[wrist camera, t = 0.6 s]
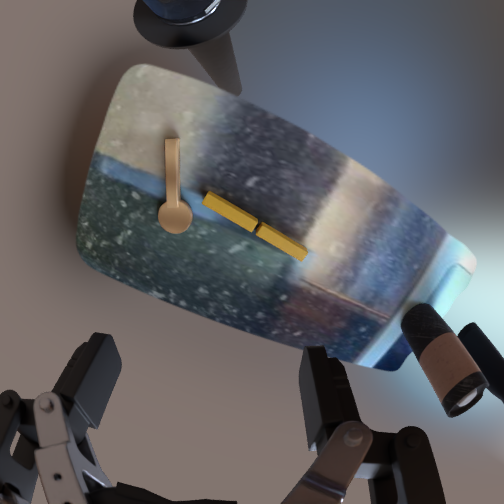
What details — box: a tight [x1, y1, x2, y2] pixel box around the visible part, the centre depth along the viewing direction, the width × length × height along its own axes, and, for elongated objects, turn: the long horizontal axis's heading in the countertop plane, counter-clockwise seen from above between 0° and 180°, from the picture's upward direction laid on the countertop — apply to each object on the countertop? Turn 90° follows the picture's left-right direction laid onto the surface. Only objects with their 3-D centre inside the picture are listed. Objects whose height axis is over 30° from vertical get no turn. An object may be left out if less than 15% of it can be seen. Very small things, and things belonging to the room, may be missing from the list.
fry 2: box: [256, 222, 308, 262], centre depth 35 cm, size 7×2×2 cm, turn 58°
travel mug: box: [401, 303, 489, 418], centre depth 33 cm, size 8×8×20 cm
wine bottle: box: [457, 322, 504, 403], centre depth 31 cm, size 6×6×30 cm
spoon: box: [158, 138, 193, 233], centre depth 32 cm, size 12×4×2 cm, turn 178°
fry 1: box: [202, 191, 258, 232], centre depth 33 cm, size 7×2×2 cm, turn 58°
